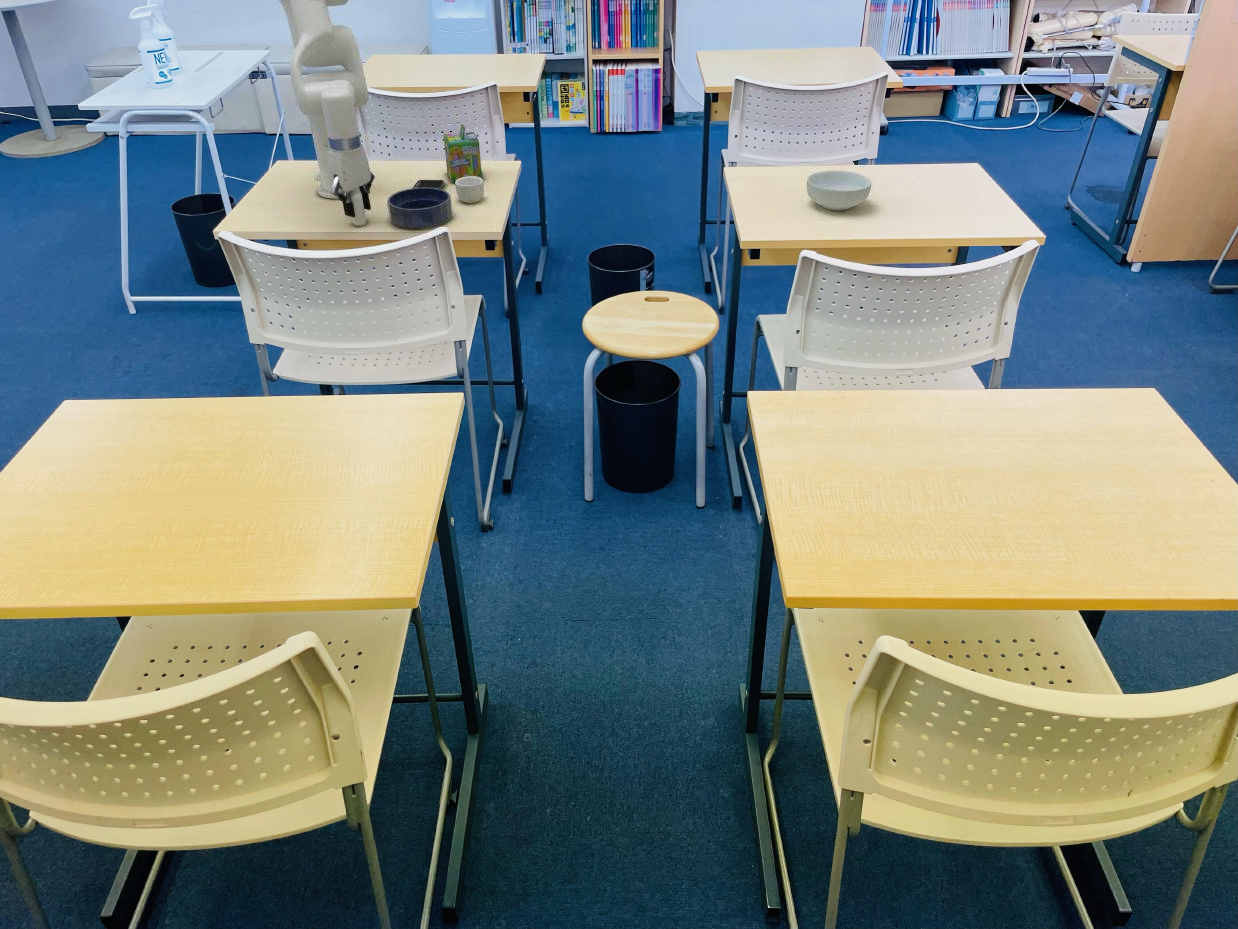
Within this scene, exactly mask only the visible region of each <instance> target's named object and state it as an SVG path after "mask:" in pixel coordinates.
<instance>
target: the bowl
mask: <svg viewBox="0 0 1238 929" xmlns="http://www.w3.org/2000/svg"><path fill="white" fill-rule="evenodd" d="M386 201H387V209H388V214H389V215H388V216H389V220H390V221H391V223H392V224H394V225H396V226H398V227H402V228H408V229H425V228H432V227H435V226H439V225H443V224H445V223H447V222H448V221H449V220H451V218H453V214H454V213H453V206H452V204H453V203H452V197H451V194H450V193H449V192H448V191H447V190H445V189H437V188H428V187H424V188H413V187H412V188H406V189H403V190H399V191H397V192H395V193H392V194H391V195H390V196H388V197H387V200H386Z"/></svg>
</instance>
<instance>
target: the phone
mask: <svg viewBox="0 0 1238 929" xmlns="http://www.w3.org/2000/svg"><path fill="white" fill-rule="evenodd" d="M445 186H446V184H445V180H443V179H419V180H417V181H416V182H415V184H414V185H413V187H412V188H424V187H428V188H437V189H442V190H444V189H443V188H444V187H445Z"/></svg>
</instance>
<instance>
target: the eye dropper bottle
mask: <svg viewBox="0 0 1238 929" xmlns="http://www.w3.org/2000/svg"><path fill="white" fill-rule="evenodd" d="M351 202H353V206H354V211H355V217H351V219H352V223H353V225H355V226H357V227H360V226H365V225H366V224H367V215H366V209H364V204H363V199H362V194H361V192H360V191H359V188H355V189H353V190H351Z"/></svg>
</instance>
